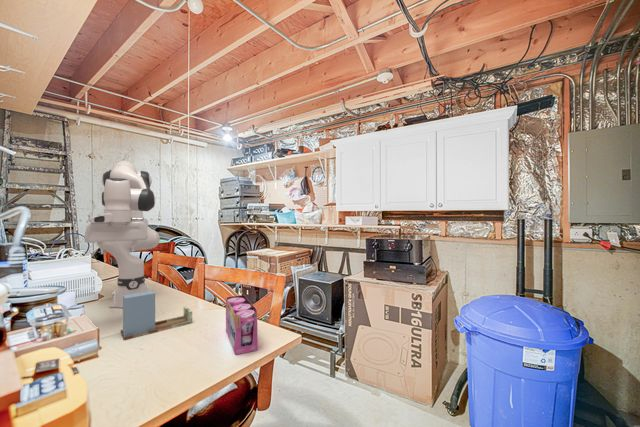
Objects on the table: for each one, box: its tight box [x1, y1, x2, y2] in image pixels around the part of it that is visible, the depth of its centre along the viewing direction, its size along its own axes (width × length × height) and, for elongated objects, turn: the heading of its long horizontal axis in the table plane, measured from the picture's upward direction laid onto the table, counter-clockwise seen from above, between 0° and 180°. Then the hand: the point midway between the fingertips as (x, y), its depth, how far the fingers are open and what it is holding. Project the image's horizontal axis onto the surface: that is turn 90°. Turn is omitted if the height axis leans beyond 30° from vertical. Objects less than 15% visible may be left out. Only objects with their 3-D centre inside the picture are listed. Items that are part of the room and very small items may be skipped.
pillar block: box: [122, 290, 156, 337], centre depth 108 cm, size 5×10×15 cm, turn 132°
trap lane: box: [120, 306, 193, 341], centre depth 112 cm, size 9×24×6 cm, turn 132°
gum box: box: [225, 294, 259, 356], centre depth 103 cm, size 24×8×14 cm, turn 27°
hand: (117, 252), depth 109 cm, fingers open, 8 cm apart
